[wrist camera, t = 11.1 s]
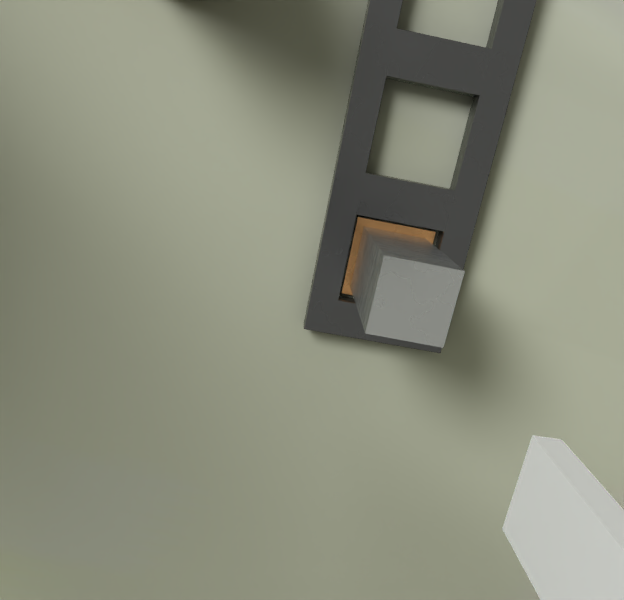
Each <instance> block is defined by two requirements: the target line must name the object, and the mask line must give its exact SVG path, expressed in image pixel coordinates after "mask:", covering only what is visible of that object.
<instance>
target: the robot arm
mask: <svg viewBox="0 0 624 600" xmlns="http://www.w3.org/2000/svg"><path fill="white" fill-rule="evenodd" d="M502 529H503V531H504V533H505V535H506V537H507V539H508V541H509V542H510V544H511V546H512V548H513V550H514V552H515V554H516V555H517V557H518V559H519V561H520V563H521V565H522V567H523V569H524V570H525V572H526V574H527V576H528V578H529V580H530V582H531V583H532V585H533V587H534V589H535V591H536V593H537V595H538V596H539V598H540V600H624V510H623V508H622V507H621V506H620V505H619V504H618V503H617V502H616V500H615V499H614V498H613V497H612V496H611V495H610V494H609V492H608V491H607V490H606V489H605V488H604V487H603V486H602V485H601V483H600V482H599V481H598V480H597V479H596V478H595V477H594V475H593V474H592V473H591V472H590V471H589V470H588V469H587V467H586V466H585V465H584V464H583V463H582V462H581V461H580V459H579V458H578V457H577V456H576V455H575V454H574V453H573V452H572V450H571V449H570V448H569V447H568V446H567V445H566V444H565V442H564V441H563V440H562V439H556V438H549V437H541V436H534V435H532V438H531V441H530V444H529V447H528V450H527V453H526V457H525V460H524V463H523V466H522V469H521V472H520V475H519V478H518V481H517V484H516V488H515V491H514V494H513V497H512V500H511V503H510V506H509V509H508V512H507V516H506V519H505V522H504V525H503V528H502Z"/></svg>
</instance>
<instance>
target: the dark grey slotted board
mask: <svg viewBox="0 0 624 600" xmlns="http://www.w3.org/2000/svg"><path fill="white" fill-rule="evenodd" d="M402 1H403V0H369V1H368V6H367V11H366V16H365V21H364V26H363V31H362V36H361V41H360V46H359V51H358V56H357V61H356V66H355V71H354V76H353V81H352V86H351V91H350V96H349V101H348V106H347V111H346V116H345V121H344V126H343V131H342V136H341V141H340V146H339V151H338V156H337V161H336V166H335V171H334V176H333V181H332V186H331V191H330V196H329V201H328V206H327V211H326V216H325V221H324V225H323V230H322V235H321V240H320V245H319V250H318V255H317V260H316V265H315V270H314V275H313V280H312V285H311V290H310V295H309V300H308V305H307V310H306V315H305V320H304V329H307V330H313V331H319V332H324V333H330V334H336V335H341V336H347V337H353V338H358V339H364V340H369V341H375V342H381V343H386V344H392V345H398V346H403V347H409V348H414V349H420V350H426V351H431V352H437V353H440V352H441V349H442V348H441V347H436V346H430V345H425V344H420V343H414V342H409V341H404V340H398V339H393V338H387V337H382V336H377V335H371V334H366V333H365V331H364V328H363V325H362V322H361V319H360V316H359V313H358V310H357V307H356V303H355V300H354V298H349V297H343V296H339V294H340V289H341V285H342V280H343V275H344V271H345V266H346V261H347V257H348V252H349V247H350V243H351V238H352V233H353V229H354V224H355V220H356V215H362V216H367V217H372V218H377V219H382V220H388V221H393V222H398V223H403V224H408V225H413V226H419V227H424V228H429V229H434V230H439V234H438V238H437V242H436V245H435V247H437V248H438V249H439V250H440V251H441V252H443V253H444V254H445V255H446V256H447V257H449V258H450V259H451V260H452V261H453V262H455V263H456V264H457V265H458V266H459V267H461V268H462V269H463V268H464V264H465V261H466V257H467V253H468V250H469V246H470V242H471V239H472V235H473V231H474V228H475V224H476V220H477V217H478V213H479V209H480V206H481V202H482V198H483V195H484V191H485V187H486V184H487V180H488V176H489V173H490V169H491V165H492V162H493V158H494V154H495V151H496V147H497V143H498V140H499V136H500V132H501V129H502V125H503V121H504V118H505V114H506V110H507V107H508V103H509V99H510V96H511V92H512V88H513V85H514V81H515V77H516V74H517V70H518V66H519V63H520V59H521V55H522V52H523V48H524V44H525V41H526V37H527V33H528V30H529V26H530V22H531V19H532V15H533V11H534V8H535V4H536V0H498V3H497V7H496V11H495V15H494V19H493V23H492V27H491V31H490V35H489V39H488V43H487V46H486V48H484V47H480V46H475V45H471V44H466V43H462V42H457V41H452V40H448V39H443V38H439V37H434V36H429V35H425V34H420V33H416V32H411V31H407V30H402V29H397V24H398V20H399V15H400V10H401V6H402ZM386 78H388V79H393V80H397V81H402V82H407V83H412V84H416V85H421V86H426V87H431V88H435V89H440V90H445V91H449V92H454V93H459V94H464V95H468V96H473V101H472V105H471V109H470V113H469V117H468V121H467V124H466V128H465V132H464V136H463V140H462V144H461V148H460V152H459V156H458V160H457V164H456V167H455V171H454V175H453V179H452V183H451V187H450V189H448V188H443V187H438V186H433V185H428V184H423V183H418V182H413V181H408V180H403V179H398V178H393V177H388V176H383V175H378V174H372V173H367V172H366V168H367V164H368V159H369V154H370V150H371V145H372V140H373V136H374V131H375V127H376V122H377V117H378V113H379V108H380V103H381V99H382V94H383V89H384V85H385V80H386ZM364 226H366V227H371V228H376V229H381V230H386V231H391V232H396V233H401V234H406V235H411V236H416V237H421V238H426V239H427V240H428V241H429V242H431V243H432V244H433V241H434V237H435V233H436V232H435V231H430V230H425V229H419V228H414V227H409V226H404V225H399V224H394V223H388V222H383V221H378V220H373V219H368V218H362V217H358V218H357V223H356V227H355V232H354V237H353V241H352V246H351V251H350V255H349V260H348V264H347V269H346V274H345V278H344V283H343V288H342V292H341V293H343V294H349V295H353V294H352V291H351V288H350V285H351V281H352V276H353V272H354V267H355V263H356V259H357V254H358V250H359V245H360V241H361V237H362V232H363V228H364Z"/></svg>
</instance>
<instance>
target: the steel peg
mask: <svg viewBox="0 0 624 600" xmlns="http://www.w3.org/2000/svg"><path fill="white" fill-rule="evenodd" d="M464 273H465V271H464V270H463V269H462V268H461V267H459V266H458V265H457V264H456V263H455V262H453V261H452V260H451V259H450V258H449V257H447V256H446V255H445V254H444V253H443V252H441V251H440V250H439V249H438V248H437V247H435V246H434V245H433V244H432V243H431V242H429V241H428V240H427V239H426V238H421V237H416V236H411V235H406V234H401V233H396V232H391V231H386V230H381V229H376V228H371V227H366V226H364V228H363V232H362V237H361V241H360V245H359V250H358V254H357V259H356V263H355V267H354V272H353V276H352V281H351V285H350V288H351V291H352V294H353V297H354V300H355V303H356V307H357V310H358V313H359V316H360V319H361V322H362V325H363V328H364V331H365V333H366V334H371V335H377V336H382V337H387V338H393V339H398V340H404V341H409V342H414V343H420V344H425V345H430V346H436V347H441V348H443V347H444V344H445V340H446V337H447V333H448V330H449V326H450V323H451V319H452V315H453V312H454V308H455V305H456V301H457V298H458V294H459V291H460V287H461V283H462V280H463V276H464Z"/></svg>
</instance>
